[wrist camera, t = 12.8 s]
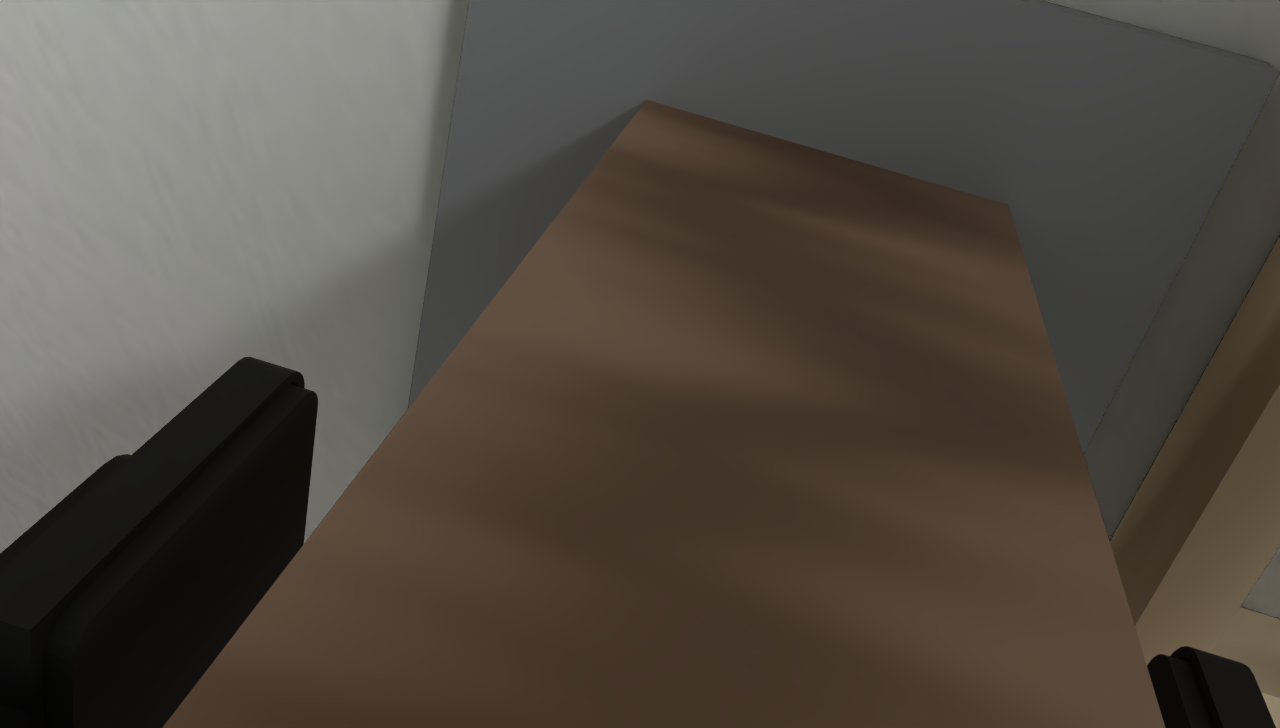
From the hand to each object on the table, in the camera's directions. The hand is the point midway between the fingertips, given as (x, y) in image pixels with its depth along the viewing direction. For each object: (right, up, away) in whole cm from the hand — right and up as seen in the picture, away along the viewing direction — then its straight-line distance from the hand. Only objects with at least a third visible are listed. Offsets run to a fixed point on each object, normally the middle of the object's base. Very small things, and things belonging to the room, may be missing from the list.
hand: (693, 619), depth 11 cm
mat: (+2, +4, +7) cm, 8 cm away
